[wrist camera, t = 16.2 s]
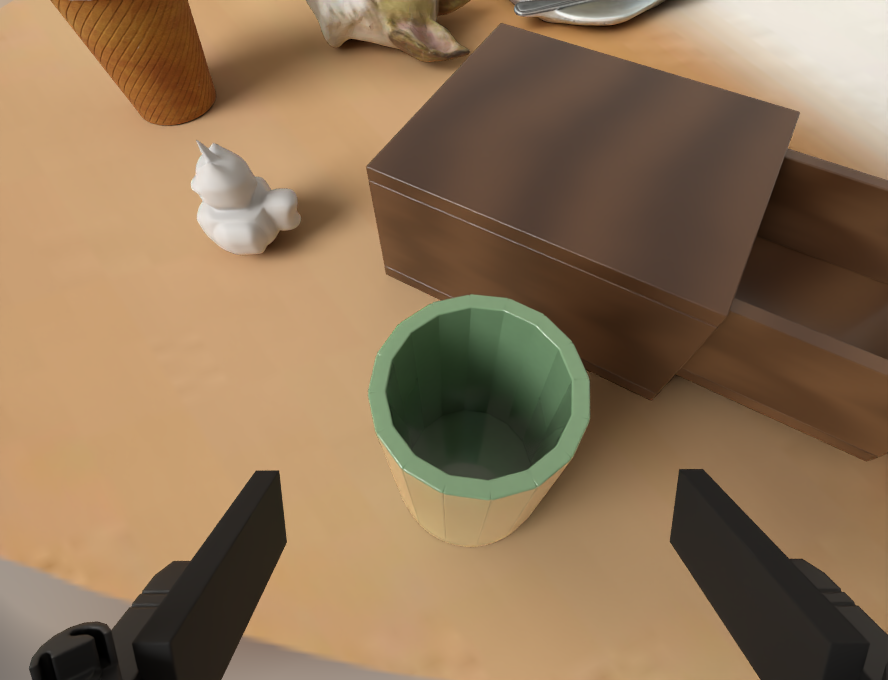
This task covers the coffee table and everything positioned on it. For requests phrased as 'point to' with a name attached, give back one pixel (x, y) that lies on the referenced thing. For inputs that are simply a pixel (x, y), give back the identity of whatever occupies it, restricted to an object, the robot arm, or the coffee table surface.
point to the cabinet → (583, 197)
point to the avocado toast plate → (583, 10)
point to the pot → (477, 414)
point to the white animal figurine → (240, 203)
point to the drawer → (811, 311)
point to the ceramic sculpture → (391, 25)
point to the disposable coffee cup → (147, 54)
